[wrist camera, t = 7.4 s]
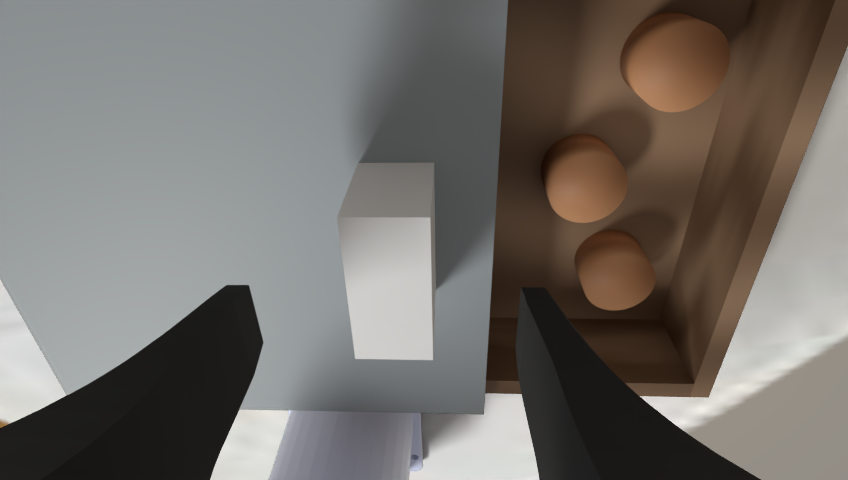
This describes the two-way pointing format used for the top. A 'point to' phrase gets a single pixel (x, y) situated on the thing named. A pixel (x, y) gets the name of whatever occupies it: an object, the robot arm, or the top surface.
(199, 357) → the robot arm
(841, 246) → the top surface
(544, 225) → the walnut box
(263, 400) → the lid
